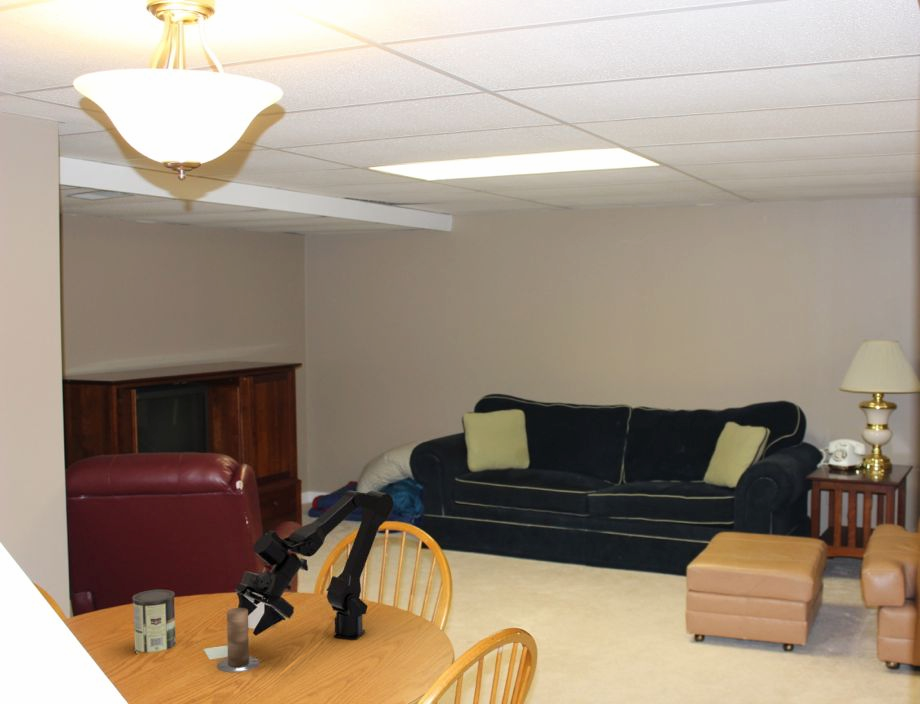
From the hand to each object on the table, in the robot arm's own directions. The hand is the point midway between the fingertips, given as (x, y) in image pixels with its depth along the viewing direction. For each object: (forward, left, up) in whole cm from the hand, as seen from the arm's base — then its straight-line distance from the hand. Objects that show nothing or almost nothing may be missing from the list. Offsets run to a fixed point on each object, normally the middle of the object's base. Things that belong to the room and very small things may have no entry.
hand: (244, 629), depth 246 cm
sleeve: (+1, +2, -8) cm, 8 cm away
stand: (+9, -5, -9) cm, 14 cm away
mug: (+9, -26, -9) cm, 29 cm away
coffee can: (+28, -4, -9) cm, 30 cm away
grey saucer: (+1, +2, -9) cm, 9 cm away
